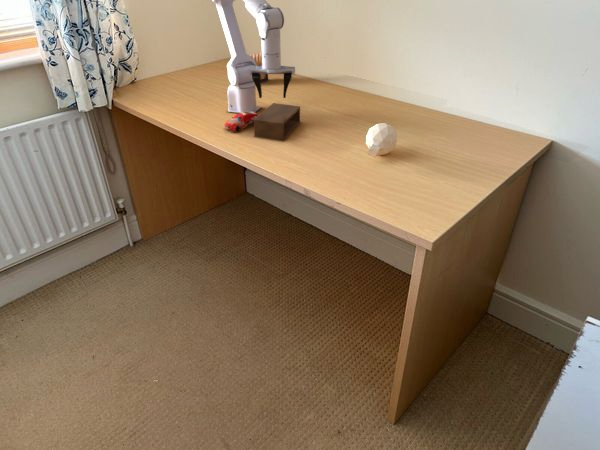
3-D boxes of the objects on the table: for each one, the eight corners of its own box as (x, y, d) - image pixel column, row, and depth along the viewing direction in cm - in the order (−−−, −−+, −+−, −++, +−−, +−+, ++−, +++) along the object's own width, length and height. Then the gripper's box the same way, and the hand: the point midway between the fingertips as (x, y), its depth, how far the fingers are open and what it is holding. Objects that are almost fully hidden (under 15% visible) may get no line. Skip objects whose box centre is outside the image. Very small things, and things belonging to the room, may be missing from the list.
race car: (232, 134, 137) (231, 122, 135) (221, 130, 140) (220, 118, 137) (261, 122, 145) (261, 110, 143) (250, 118, 148) (249, 107, 146)
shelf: (254, 136, 135) (253, 119, 132) (274, 119, 148) (273, 102, 145) (282, 140, 133) (282, 123, 130) (300, 122, 145) (300, 106, 142)
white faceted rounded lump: (367, 137, 131) (353, 157, 123) (378, 112, 124) (364, 131, 116) (393, 150, 129) (381, 171, 122) (406, 125, 123) (393, 146, 115)
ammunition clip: (249, 85, 179) (247, 55, 172) (246, 84, 180) (244, 54, 173) (268, 80, 185) (267, 50, 178) (265, 79, 186) (264, 49, 179)
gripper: (246, 55, 128) (249, 101, 136) (295, 55, 128) (295, 101, 136) (248, 50, 134) (250, 93, 142) (294, 50, 134) (294, 93, 142)
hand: (272, 96), depth 139 cm, fingers open, 7 cm apart
